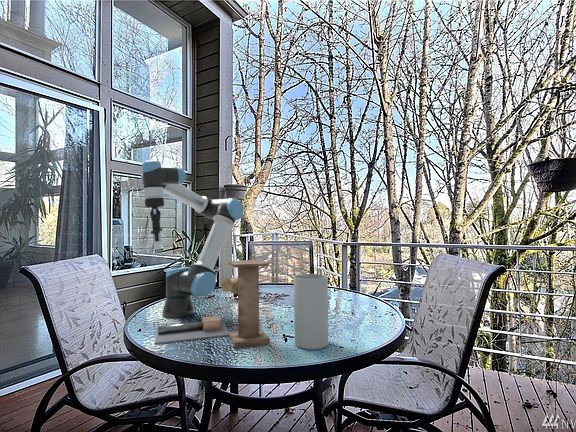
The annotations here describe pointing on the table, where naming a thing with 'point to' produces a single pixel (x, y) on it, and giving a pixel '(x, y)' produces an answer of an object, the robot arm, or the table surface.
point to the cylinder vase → (311, 311)
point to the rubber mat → (190, 335)
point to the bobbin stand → (248, 305)
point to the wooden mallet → (193, 325)
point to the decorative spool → (230, 286)
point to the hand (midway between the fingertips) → (158, 247)
